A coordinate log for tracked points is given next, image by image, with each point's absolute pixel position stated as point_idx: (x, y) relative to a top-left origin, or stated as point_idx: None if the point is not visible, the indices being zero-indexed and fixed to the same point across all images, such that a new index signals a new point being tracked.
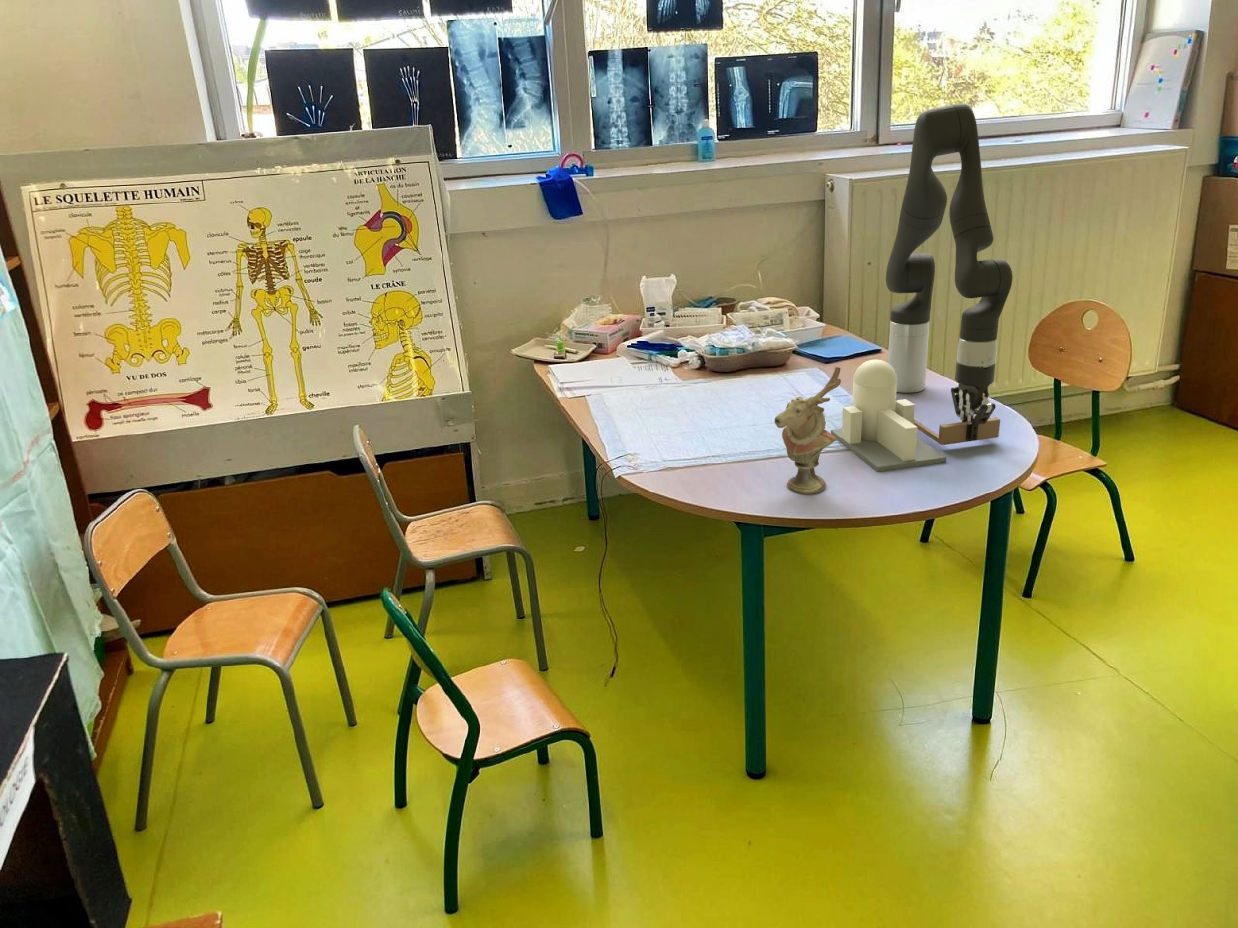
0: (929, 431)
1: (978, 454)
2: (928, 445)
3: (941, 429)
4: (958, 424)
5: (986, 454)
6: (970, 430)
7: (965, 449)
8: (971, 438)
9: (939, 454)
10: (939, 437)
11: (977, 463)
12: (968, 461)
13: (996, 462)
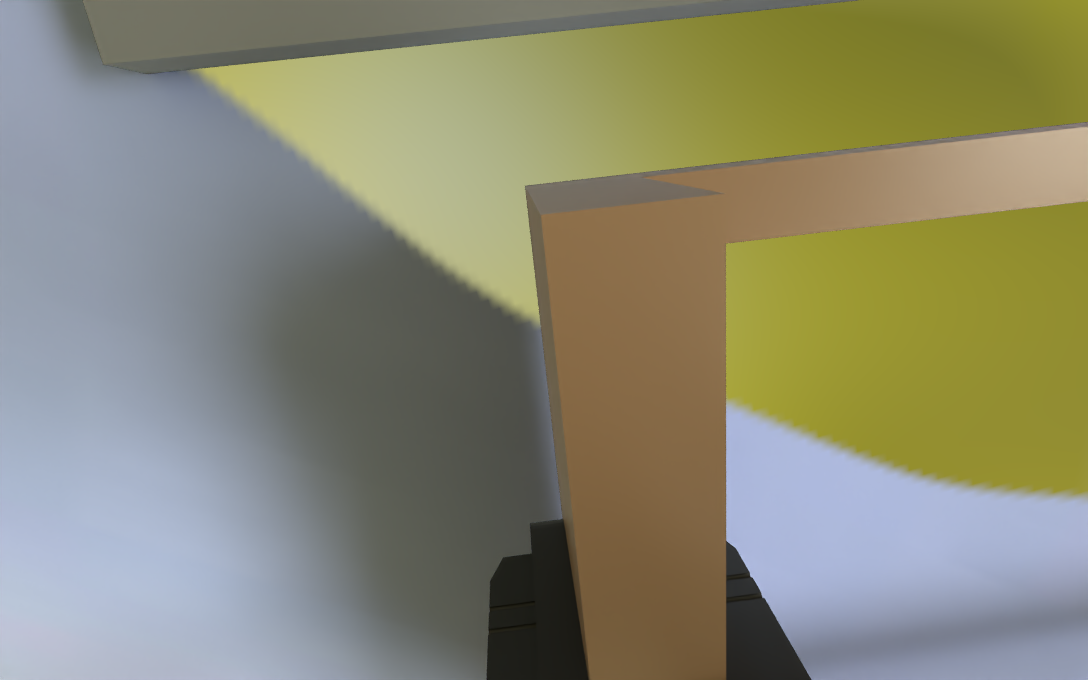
0: (954, 166)
1: (348, 509)
2: (607, 7)
3: (606, 198)
4: (624, 578)
5: (338, 572)
6: (524, 653)
7: (507, 446)
8: (497, 577)
9: (220, 9)
10: (618, 180)
11: (89, 411)
12: (154, 345)
13: (116, 580)
